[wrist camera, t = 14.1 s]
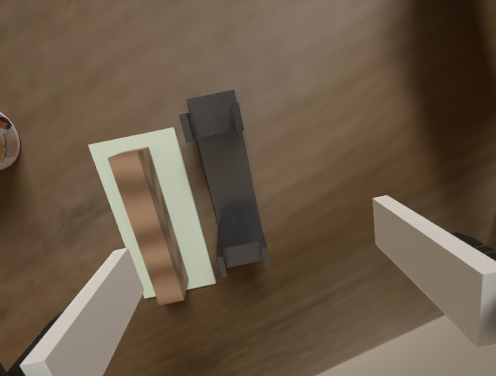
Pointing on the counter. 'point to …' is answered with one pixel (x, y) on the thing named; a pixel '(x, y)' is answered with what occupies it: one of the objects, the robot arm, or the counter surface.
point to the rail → (150, 223)
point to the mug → (8, 142)
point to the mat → (175, 196)
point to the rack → (227, 178)
